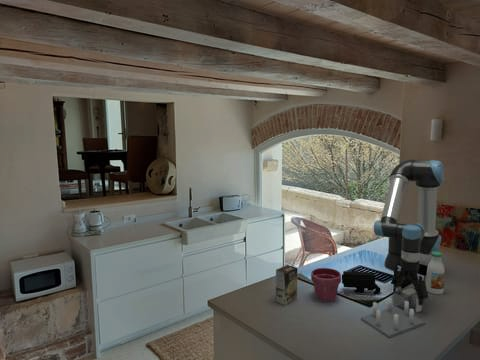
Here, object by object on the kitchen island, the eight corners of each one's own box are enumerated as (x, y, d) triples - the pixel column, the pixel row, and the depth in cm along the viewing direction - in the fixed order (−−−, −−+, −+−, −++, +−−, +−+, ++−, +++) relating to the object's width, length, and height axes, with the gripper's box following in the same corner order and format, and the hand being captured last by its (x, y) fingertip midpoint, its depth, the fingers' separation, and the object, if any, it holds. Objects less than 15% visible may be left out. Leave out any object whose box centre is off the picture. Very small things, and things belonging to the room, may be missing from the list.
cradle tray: (395, 307, 158) (395, 293, 157) (425, 324, 145) (426, 308, 144) (360, 319, 149) (361, 304, 148) (388, 337, 136) (389, 321, 135)
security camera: (381, 297, 169) (382, 277, 167) (342, 294, 172) (342, 275, 171) (379, 290, 175) (379, 271, 174) (341, 288, 179) (341, 269, 178)
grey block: (411, 300, 165) (412, 286, 164) (422, 306, 159) (423, 291, 158) (393, 306, 160) (393, 291, 159) (404, 312, 154) (405, 297, 153)
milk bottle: (423, 291, 173) (425, 253, 170) (428, 286, 179) (430, 249, 176) (441, 296, 168) (443, 256, 165) (445, 290, 173) (447, 252, 171)
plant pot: (316, 288, 179) (316, 265, 177) (343, 294, 172) (344, 270, 170) (307, 300, 167) (307, 275, 165) (336, 307, 160) (336, 281, 158)
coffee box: (286, 305, 162) (285, 273, 160) (275, 301, 167) (275, 269, 165) (297, 299, 169) (297, 267, 167) (287, 294, 173) (287, 264, 171)
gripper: (383, 253, 165) (382, 297, 168) (427, 270, 144) (424, 319, 148) (395, 250, 168) (393, 293, 171) (439, 266, 148) (436, 315, 151)
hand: (407, 305), depth 159 cm, fingers open, 10 cm apart
